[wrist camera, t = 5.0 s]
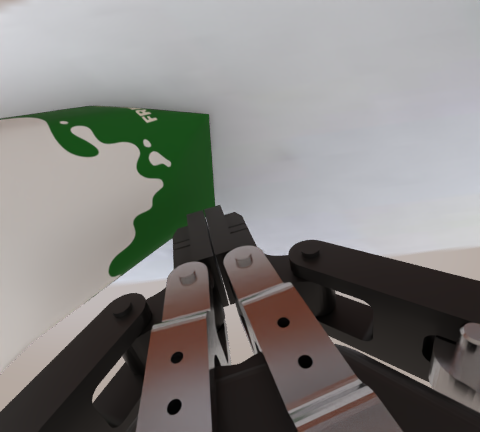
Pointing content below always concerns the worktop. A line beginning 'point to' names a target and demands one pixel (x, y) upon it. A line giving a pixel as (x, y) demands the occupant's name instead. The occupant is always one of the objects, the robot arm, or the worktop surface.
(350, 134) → the worktop surface
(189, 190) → the soya milk
